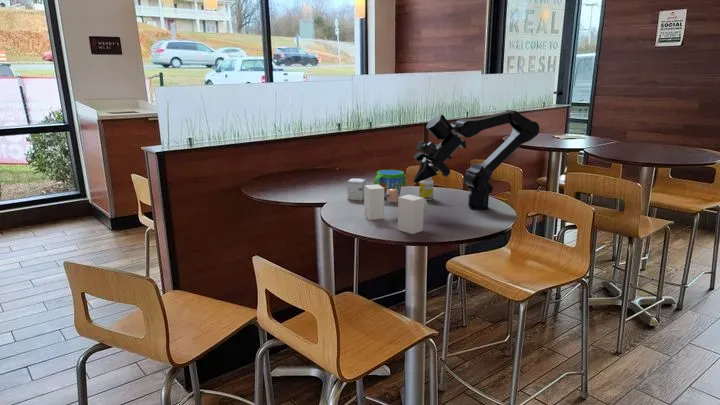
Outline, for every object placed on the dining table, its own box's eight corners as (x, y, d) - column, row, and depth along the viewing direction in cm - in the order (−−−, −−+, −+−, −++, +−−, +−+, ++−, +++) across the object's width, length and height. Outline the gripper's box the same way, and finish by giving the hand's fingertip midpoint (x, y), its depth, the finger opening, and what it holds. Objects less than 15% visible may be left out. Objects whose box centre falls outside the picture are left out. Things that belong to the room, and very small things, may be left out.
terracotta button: (393, 199, 169) (394, 187, 168) (398, 203, 165) (398, 190, 164) (376, 201, 167) (376, 188, 166) (380, 204, 163) (380, 191, 162)
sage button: (416, 210, 156) (417, 197, 155) (427, 213, 153) (428, 199, 152) (403, 214, 152) (403, 200, 150) (414, 217, 148) (414, 203, 147)
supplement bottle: (418, 197, 192) (419, 173, 190) (432, 197, 192) (433, 173, 190) (419, 200, 187) (420, 176, 185) (433, 200, 187) (434, 176, 185)
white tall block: (378, 213, 170) (378, 184, 167) (383, 218, 164) (384, 188, 161) (364, 215, 168) (364, 185, 165) (369, 219, 163) (369, 189, 160)
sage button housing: (408, 226, 156) (408, 194, 153) (422, 230, 151) (423, 197, 149) (397, 229, 152) (398, 197, 150) (412, 234, 148) (413, 200, 145)
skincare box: (347, 199, 189) (347, 181, 187) (351, 195, 195) (351, 177, 193) (362, 200, 188) (362, 181, 186) (366, 196, 193) (366, 178, 192)
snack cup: (397, 192, 201) (397, 167, 198) (413, 197, 192) (414, 171, 190) (366, 197, 193) (366, 171, 190) (381, 202, 184) (382, 176, 182)
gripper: (419, 129, 173) (389, 161, 173) (443, 135, 156) (410, 171, 156) (439, 151, 177) (409, 182, 177) (464, 159, 160) (431, 194, 160)
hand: (414, 182), depth 167 cm, fingers closed
